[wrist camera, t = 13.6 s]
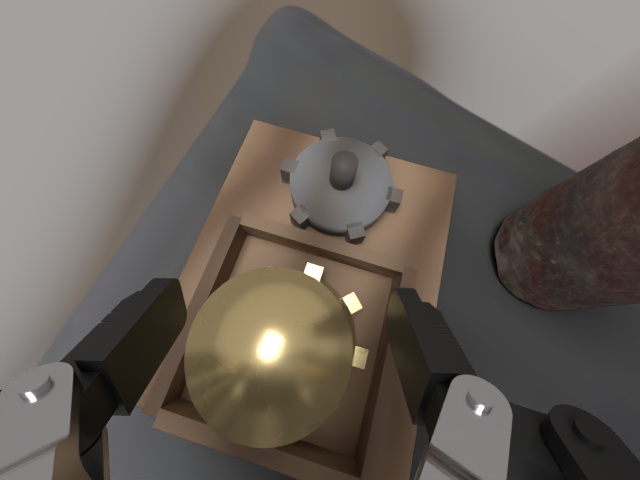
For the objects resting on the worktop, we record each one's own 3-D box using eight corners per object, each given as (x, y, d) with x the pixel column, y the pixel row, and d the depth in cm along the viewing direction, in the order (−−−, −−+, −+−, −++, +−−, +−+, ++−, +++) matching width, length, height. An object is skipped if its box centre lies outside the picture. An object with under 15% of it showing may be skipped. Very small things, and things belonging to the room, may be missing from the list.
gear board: (449, 183, 21) (487, 143, 16) (398, 487, 15) (437, 559, 10) (257, 130, 22) (242, 78, 17) (135, 394, 16) (62, 422, 11)
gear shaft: (376, 289, 17) (461, 241, 7) (342, 435, 14) (404, 649, 5) (255, 252, 17) (187, 162, 8) (202, 386, 15) (7, 495, 5)
